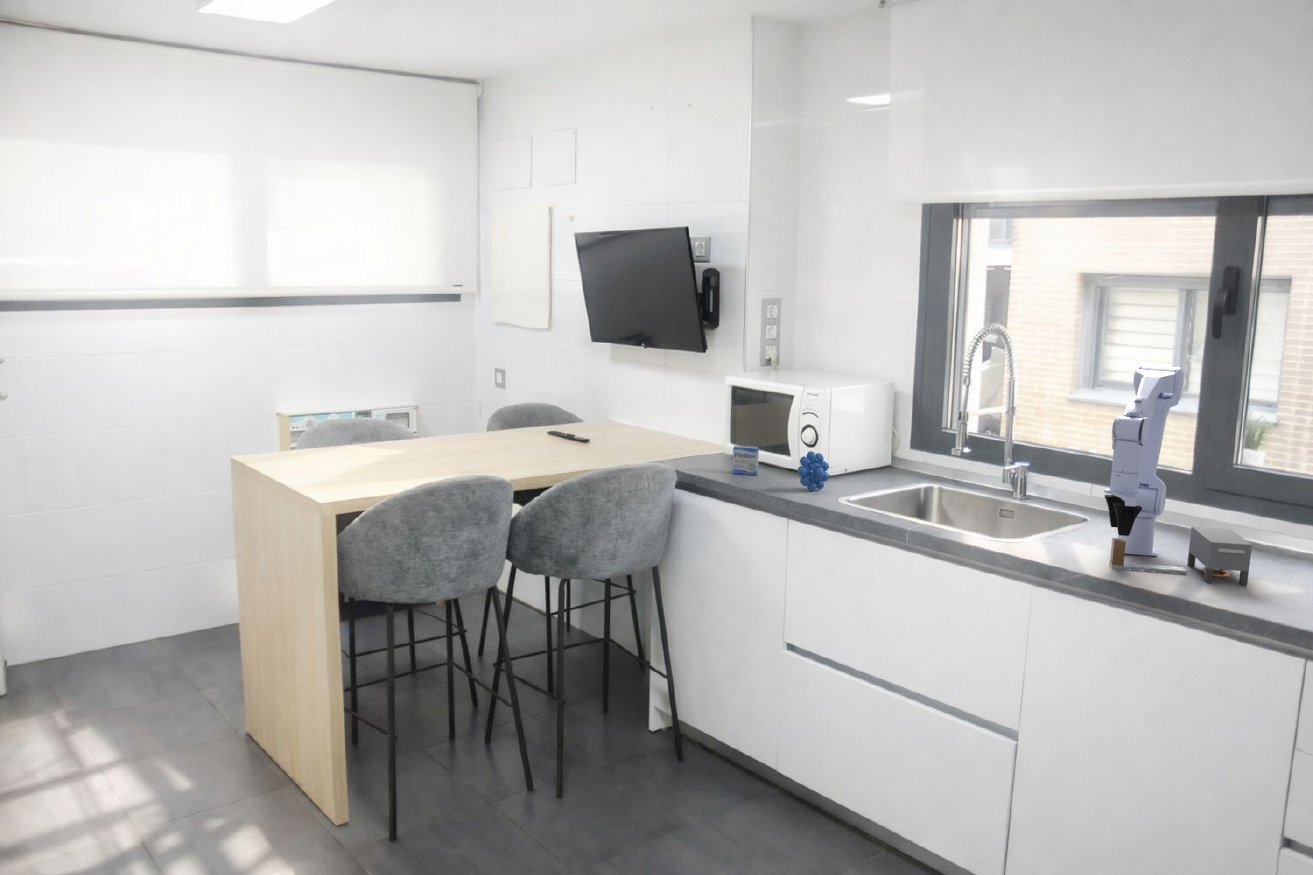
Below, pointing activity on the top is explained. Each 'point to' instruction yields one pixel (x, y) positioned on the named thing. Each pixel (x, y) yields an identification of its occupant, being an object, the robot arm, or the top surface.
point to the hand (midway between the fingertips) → (1119, 531)
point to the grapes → (813, 471)
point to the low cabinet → (1219, 551)
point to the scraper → (1118, 563)
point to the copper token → (1219, 573)
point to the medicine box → (745, 460)
